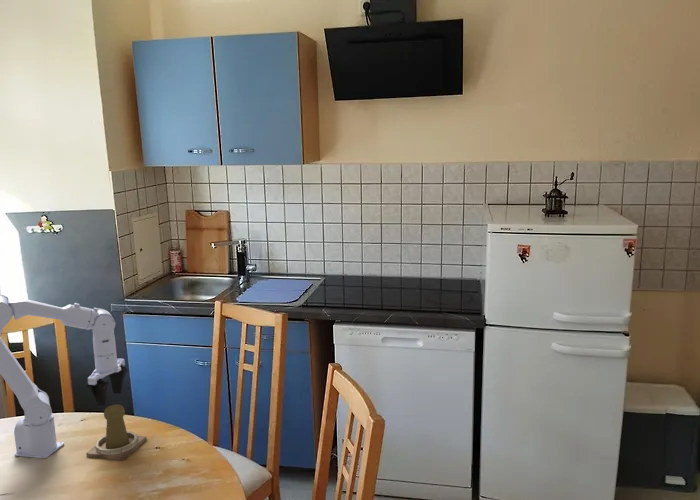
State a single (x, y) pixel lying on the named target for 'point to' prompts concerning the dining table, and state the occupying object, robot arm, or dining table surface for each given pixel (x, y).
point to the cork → (115, 427)
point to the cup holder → (117, 453)
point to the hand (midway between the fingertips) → (109, 398)
